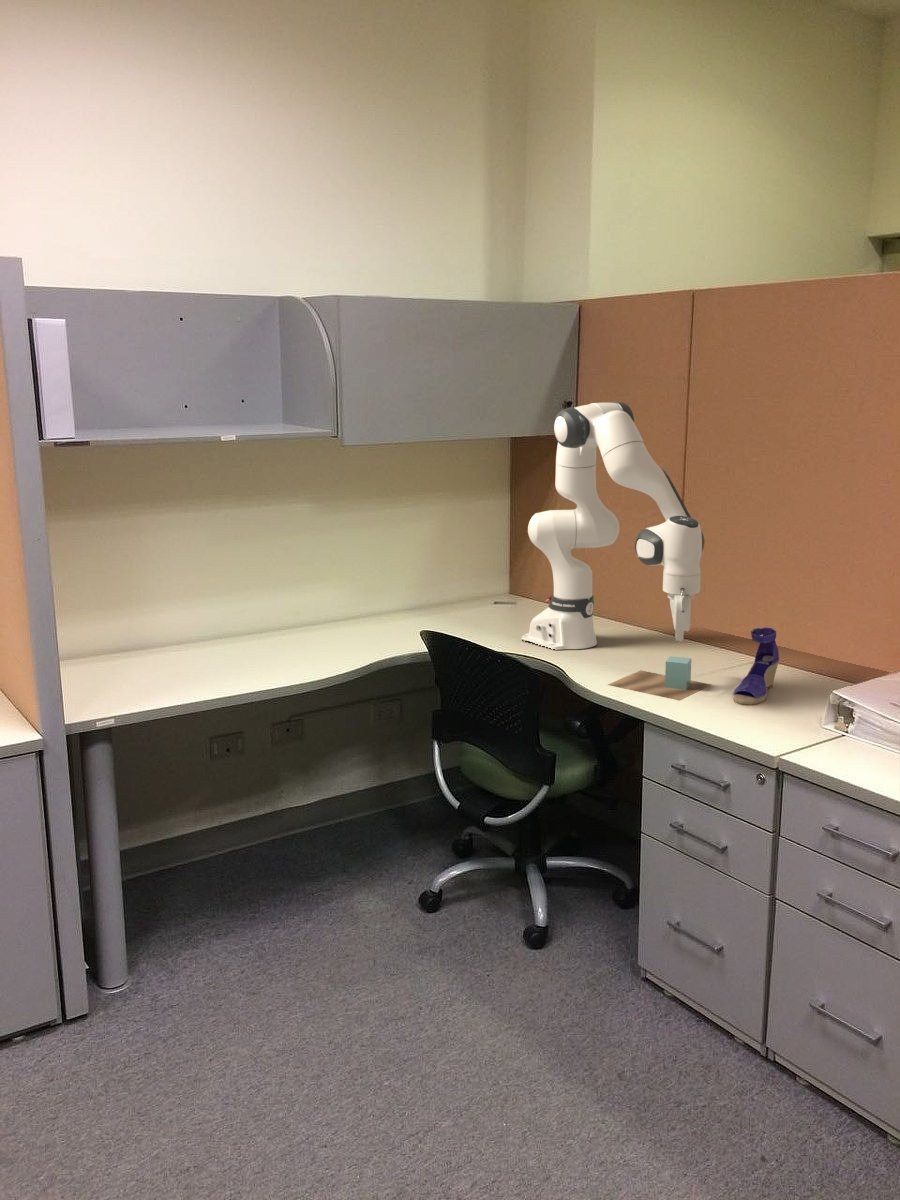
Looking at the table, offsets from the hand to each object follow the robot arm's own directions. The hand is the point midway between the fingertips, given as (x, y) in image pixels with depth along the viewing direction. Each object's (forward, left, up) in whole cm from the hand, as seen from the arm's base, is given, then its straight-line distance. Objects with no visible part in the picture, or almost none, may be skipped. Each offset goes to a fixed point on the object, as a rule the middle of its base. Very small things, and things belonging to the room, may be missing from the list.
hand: (679, 639), depth 245 cm
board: (-4, -3, -13) cm, 13 cm away
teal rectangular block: (0, 0, -12) cm, 12 cm away
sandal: (+17, +8, -13) cm, 23 cm away
